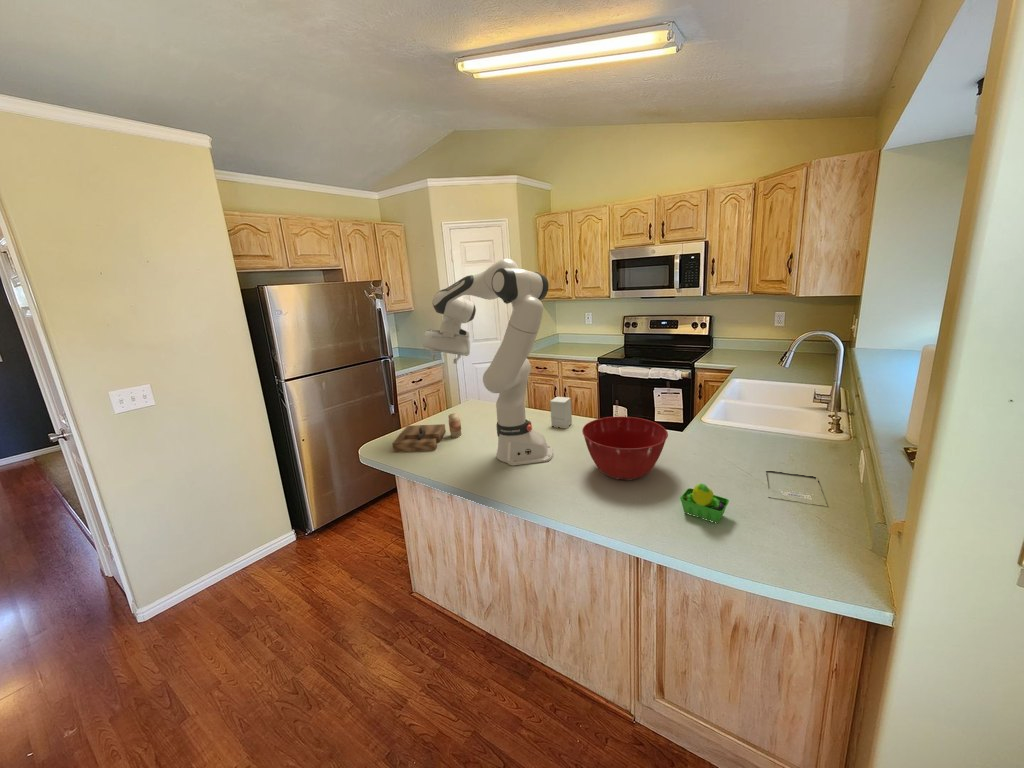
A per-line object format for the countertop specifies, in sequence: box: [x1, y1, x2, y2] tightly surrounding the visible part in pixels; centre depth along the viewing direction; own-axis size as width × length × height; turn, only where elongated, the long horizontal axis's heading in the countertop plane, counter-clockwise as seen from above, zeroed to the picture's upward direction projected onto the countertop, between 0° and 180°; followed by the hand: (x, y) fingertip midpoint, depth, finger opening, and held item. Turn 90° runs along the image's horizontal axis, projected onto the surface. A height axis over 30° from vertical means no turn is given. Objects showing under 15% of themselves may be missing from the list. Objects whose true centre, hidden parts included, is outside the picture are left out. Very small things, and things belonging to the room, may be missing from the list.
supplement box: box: [549, 396, 573, 429], centre depth 193 cm, size 7×7×13 cm
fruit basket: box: [679, 483, 730, 524], centre depth 119 cm, size 11×9×11 cm
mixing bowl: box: [581, 416, 669, 480], centre depth 146 cm, size 28×28×16 cm
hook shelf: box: [391, 423, 446, 453], centre depth 186 cm, size 18×20×8 cm
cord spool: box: [447, 412, 462, 439], centre depth 190 cm, size 5×5×10 cm
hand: (444, 361), depth 181 cm, fingers open, 8 cm apart
